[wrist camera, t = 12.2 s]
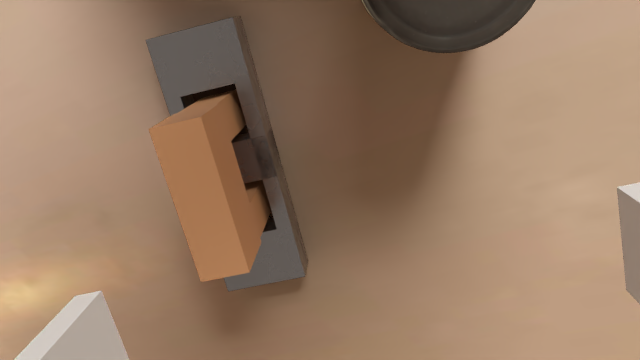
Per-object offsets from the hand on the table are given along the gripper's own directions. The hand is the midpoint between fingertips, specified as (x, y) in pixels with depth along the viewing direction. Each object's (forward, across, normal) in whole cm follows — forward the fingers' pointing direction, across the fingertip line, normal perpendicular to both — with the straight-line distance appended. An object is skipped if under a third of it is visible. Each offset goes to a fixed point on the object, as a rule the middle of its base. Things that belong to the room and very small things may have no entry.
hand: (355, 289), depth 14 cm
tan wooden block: (+33, -11, -3) cm, 35 cm away
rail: (+33, -11, -3) cm, 35 cm away
